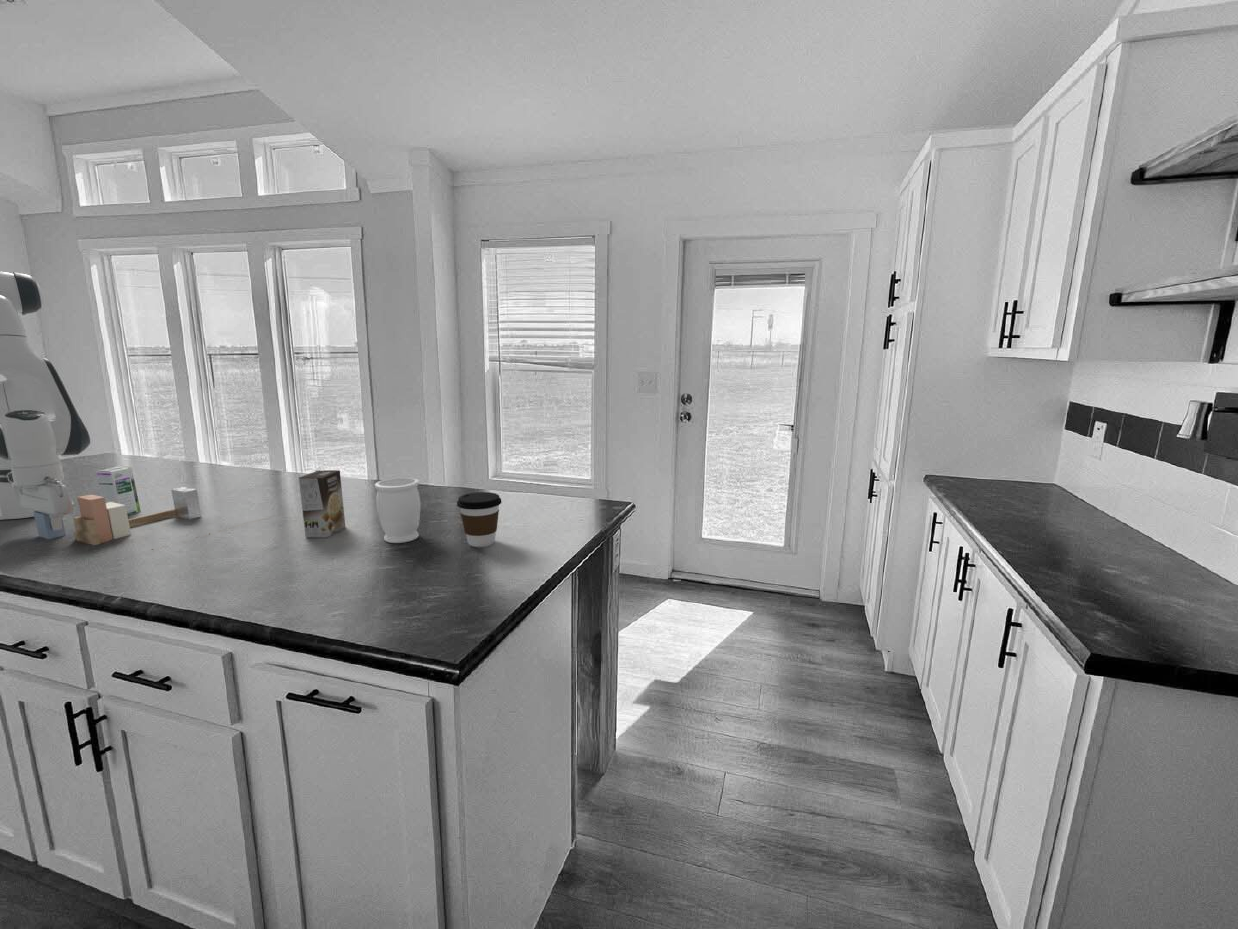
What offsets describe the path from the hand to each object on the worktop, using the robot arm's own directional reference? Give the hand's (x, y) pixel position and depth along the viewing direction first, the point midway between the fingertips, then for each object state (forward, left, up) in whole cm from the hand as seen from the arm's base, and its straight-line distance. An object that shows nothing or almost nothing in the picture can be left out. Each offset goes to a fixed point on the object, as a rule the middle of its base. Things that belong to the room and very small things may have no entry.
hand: (50, 527), depth 147 cm
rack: (+14, +13, -3) cm, 20 cm away
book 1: (+14, +4, -2) cm, 15 cm away
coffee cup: (+102, +45, -3) cm, 112 cm away
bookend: (+15, +24, -2) cm, 28 cm away
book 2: (+14, +7, -2) cm, 16 cm away
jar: (+81, +39, -3) cm, 90 cm away
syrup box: (-6, +18, -3) cm, 19 cm away
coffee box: (+59, +34, -3) cm, 68 cm away
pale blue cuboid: (0, 0, -3) cm, 3 cm away
